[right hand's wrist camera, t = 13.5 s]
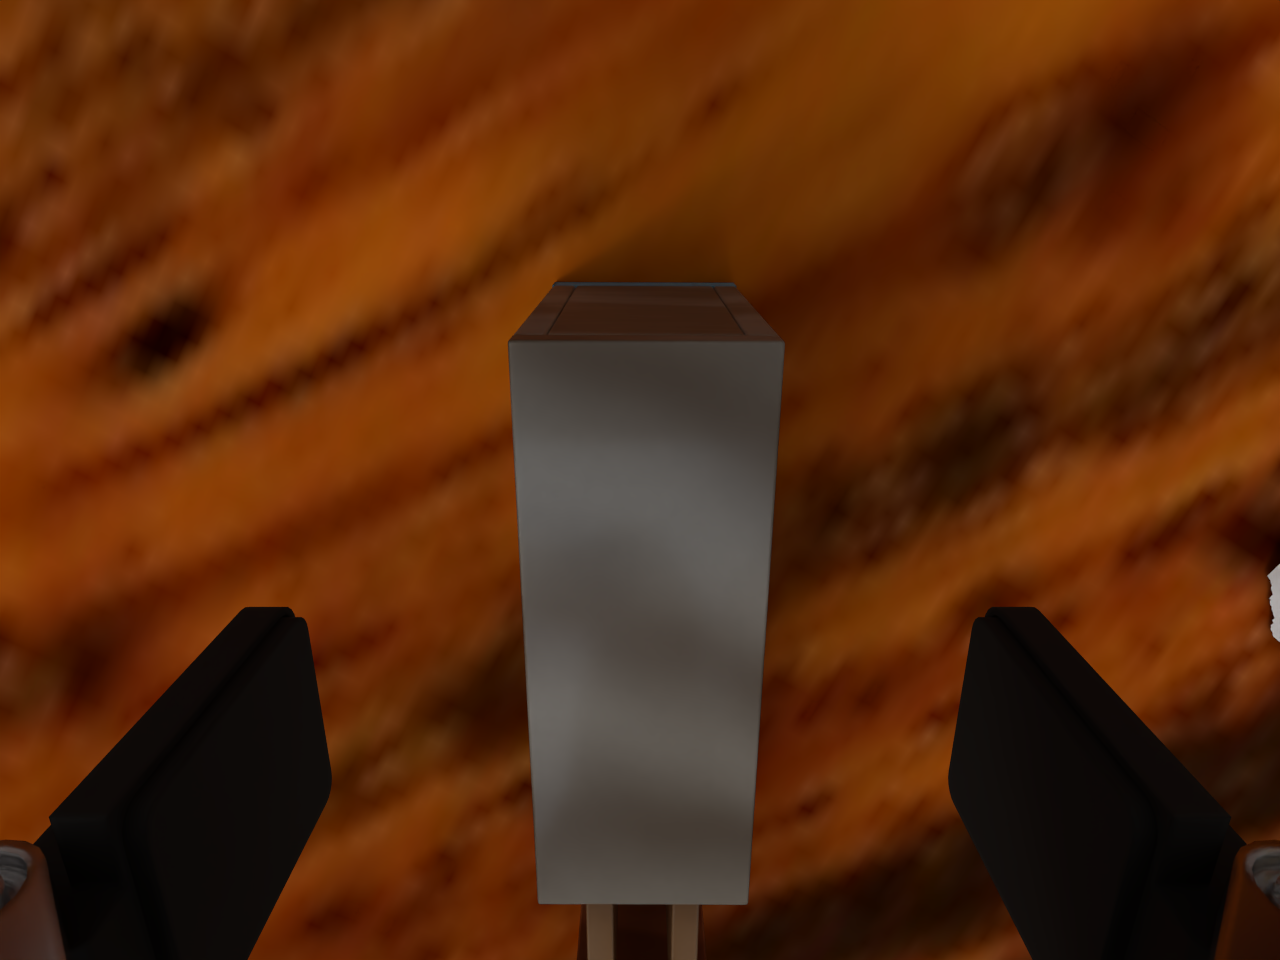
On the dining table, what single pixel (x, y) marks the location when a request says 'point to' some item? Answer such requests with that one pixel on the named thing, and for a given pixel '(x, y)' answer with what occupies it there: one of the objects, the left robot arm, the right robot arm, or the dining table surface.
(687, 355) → the cabinet
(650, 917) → the drawer
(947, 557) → the dining table surface
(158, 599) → the dining table surface
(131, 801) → the right robot arm
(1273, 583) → the seashell
